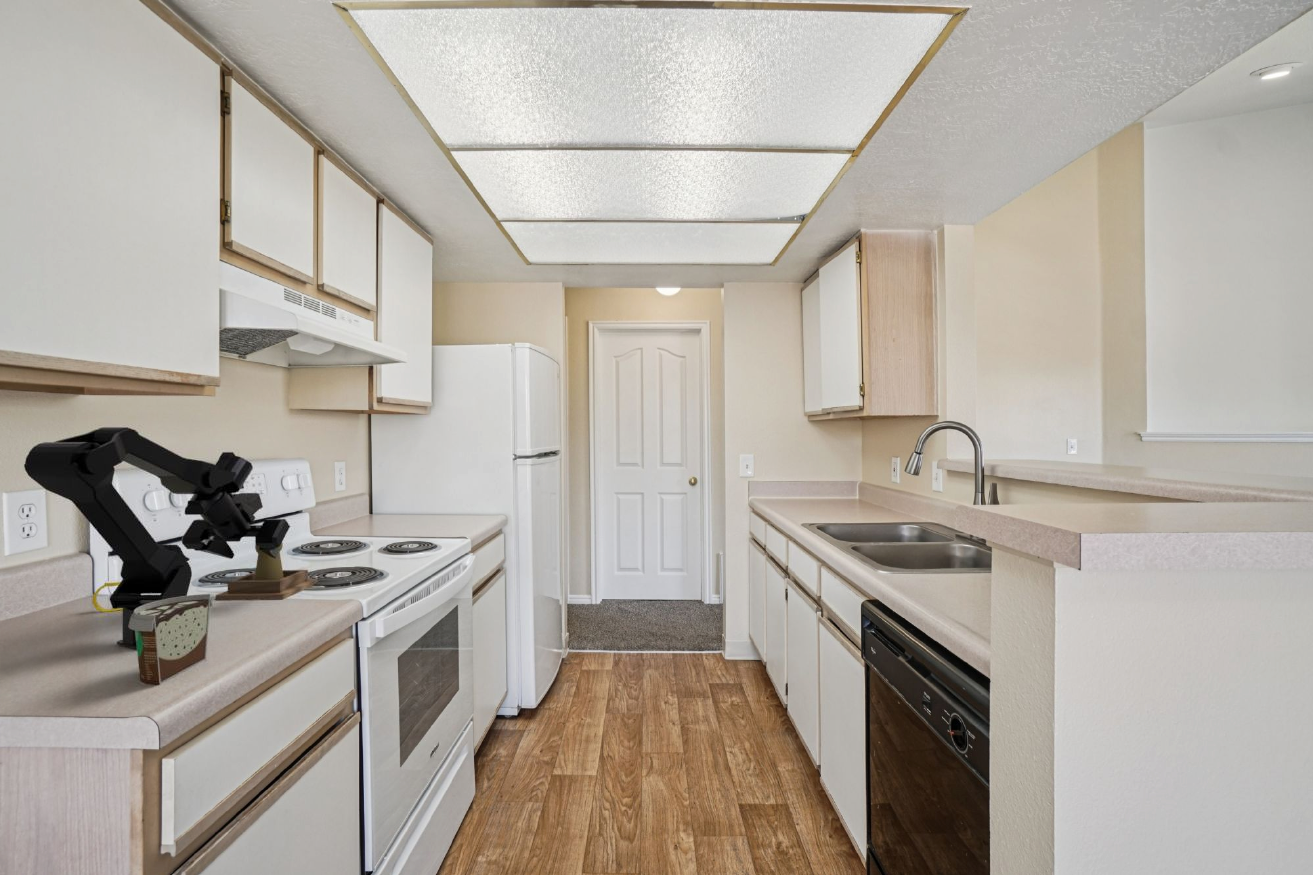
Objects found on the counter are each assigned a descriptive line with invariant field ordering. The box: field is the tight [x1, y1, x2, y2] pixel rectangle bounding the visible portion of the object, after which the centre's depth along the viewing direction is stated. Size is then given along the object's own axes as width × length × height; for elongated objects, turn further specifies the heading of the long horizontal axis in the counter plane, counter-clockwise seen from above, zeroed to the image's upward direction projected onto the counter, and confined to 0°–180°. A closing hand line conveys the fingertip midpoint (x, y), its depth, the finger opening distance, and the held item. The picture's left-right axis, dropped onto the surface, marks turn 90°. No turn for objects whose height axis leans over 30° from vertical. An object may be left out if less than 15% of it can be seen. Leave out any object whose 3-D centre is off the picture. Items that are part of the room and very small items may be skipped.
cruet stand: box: [215, 569, 319, 601], centre depth 133 cm, size 14×14×4 cm
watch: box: [91, 579, 123, 613], centre depth 118 cm, size 6×3×6 cm, turn 123°
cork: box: [254, 542, 284, 580], centre depth 133 cm, size 6×6×11 cm
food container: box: [128, 593, 214, 686], centre depth 87 cm, size 12×6×10 cm, turn 4°
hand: (254, 556), depth 128 cm, fingers open, 9 cm apart
